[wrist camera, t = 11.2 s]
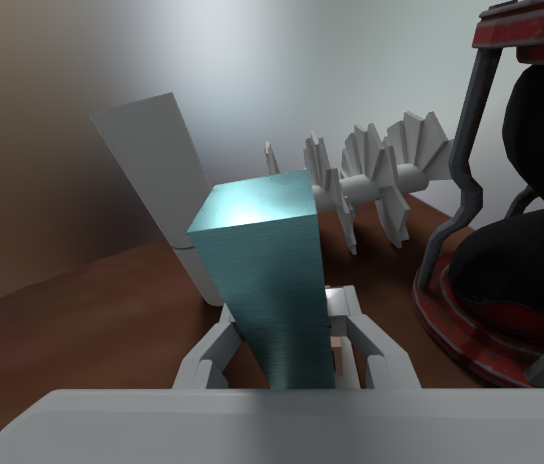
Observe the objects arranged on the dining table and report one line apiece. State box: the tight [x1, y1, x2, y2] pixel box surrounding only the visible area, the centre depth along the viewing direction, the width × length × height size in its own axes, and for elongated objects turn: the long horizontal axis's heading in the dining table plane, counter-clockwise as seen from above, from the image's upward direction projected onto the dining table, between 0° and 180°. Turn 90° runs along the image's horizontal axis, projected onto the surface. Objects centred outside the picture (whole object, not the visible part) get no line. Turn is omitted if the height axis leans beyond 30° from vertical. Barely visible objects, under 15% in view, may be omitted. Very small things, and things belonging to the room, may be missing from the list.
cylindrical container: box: [88, 93, 224, 306], centre depth 27 cm, size 7×7×25 cm
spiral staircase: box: [265, 112, 454, 255], centre depth 32 cm, size 18×18×25 cm
